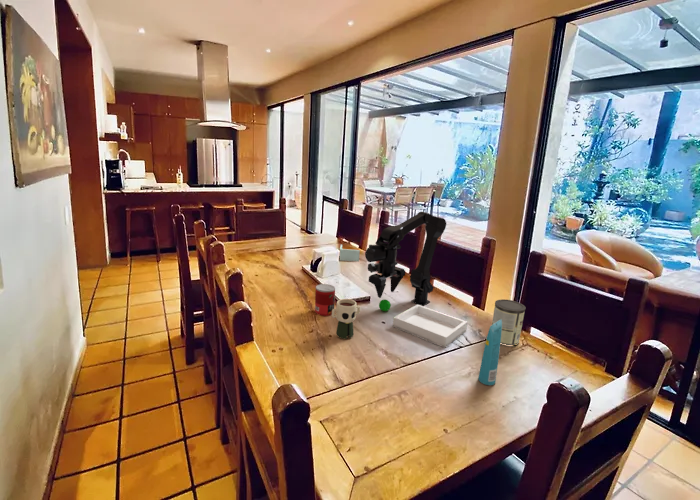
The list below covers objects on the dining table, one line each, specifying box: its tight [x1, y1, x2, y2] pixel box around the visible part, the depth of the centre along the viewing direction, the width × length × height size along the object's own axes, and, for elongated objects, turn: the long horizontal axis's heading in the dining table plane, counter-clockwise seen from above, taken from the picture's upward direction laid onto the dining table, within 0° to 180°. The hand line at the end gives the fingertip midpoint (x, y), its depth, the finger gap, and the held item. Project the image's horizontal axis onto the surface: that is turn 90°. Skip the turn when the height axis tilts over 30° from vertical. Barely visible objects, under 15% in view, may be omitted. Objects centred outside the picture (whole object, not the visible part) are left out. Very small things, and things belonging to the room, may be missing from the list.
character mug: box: [331, 298, 361, 340], centre depth 132 cm, size 11×7×13 cm, turn 115°
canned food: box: [314, 283, 336, 317], centre depth 151 cm, size 8×8×11 cm
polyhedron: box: [378, 299, 392, 312], centre depth 156 cm, size 5×5×5 cm
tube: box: [477, 319, 502, 386], centre depth 109 cm, size 7×5×19 cm, turn 140°
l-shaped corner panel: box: [339, 244, 361, 262], centre depth 230 cm, size 12×12×8 cm
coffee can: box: [491, 298, 526, 345], centre depth 136 cm, size 10×10×14 cm
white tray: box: [392, 304, 468, 349], centre depth 142 cm, size 18×22×4 cm
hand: (385, 294), depth 155 cm, fingers open, 9 cm apart
